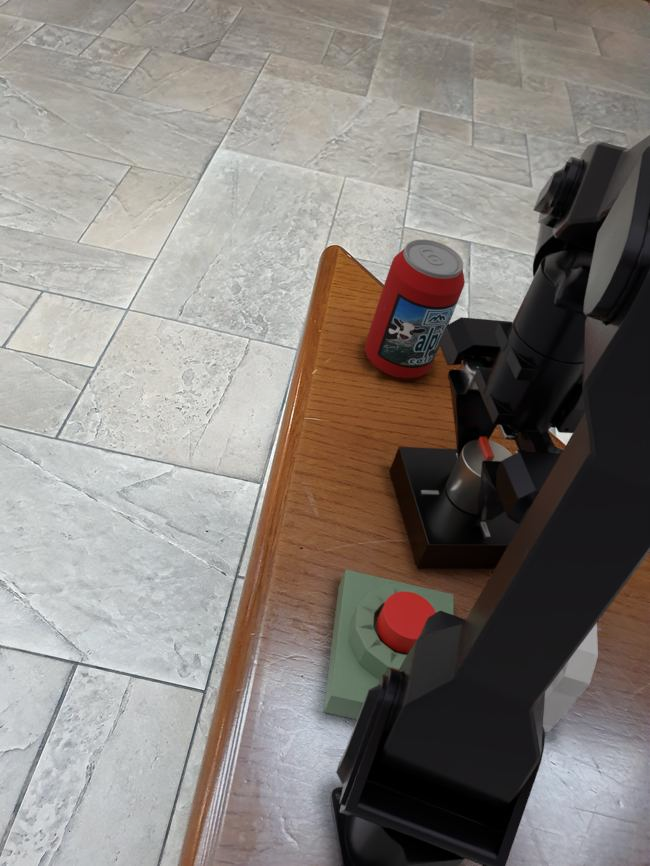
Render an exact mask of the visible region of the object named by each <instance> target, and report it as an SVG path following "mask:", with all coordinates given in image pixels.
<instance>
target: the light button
mask: <svg viewBox="0 0 650 866" xmlns="http://www.w3.org/2000/svg"><path fill="white" fill-rule="evenodd" d="M435 613H436V612H435V610H434V608H433V607H432V605H431V604H430V603H429V602H428V601H427V600H426V599H425V598H423V597H422V596H420V595H418V594H415V593H412V592H398V593H395V594H393V595H391V596H390V597H389V598H388V599H387V600H386V602H385V604H384V606H383V608H382V610H381V612H380V614H379V616H378V619H377V631H378V634H379V636H380V638H381V639H382V640H383V642H384V643H385V644H386V645H387V646H389V647H390V648H391V649H393V650H395V651H398V652H401V653H409V651H410V649H411V648H412V646H413V645H414V643H415V642H416V640H417V638H418V637H419V635H420V633H421V631H422V629H423V627H424V625H425V623H426V621H427V619H428V618H429V617H430V616H432V615H433V614H435Z"/></svg>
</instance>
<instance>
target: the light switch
mask: <svg viewBox="0 0 650 866" xmlns="http://www.w3.org/2000/svg"><path fill="white" fill-rule="evenodd" d="M598 644H599V643H598V622H597V623H596V624H595V626H594V627H593V628H592V630H591V631H590V632H589V634H588V635H587V636H586V638H585V639H584V641H583V642H582V643H581V645H580V646H579V647H578V649H577V650H576V651H575V653H574V654H573V655H572V657H571V658H570V659H569V661H568V662H567V663H566V665H565V666H564V667H563V669H562V670H561V671H560V673H559V674H558V675H557V677H556V678H555V679H554V681H553V682H552V683H551V685H550V686H549V687H548V689H547V690H546V691H545V702H544V717H543V727H544V731H545V733H547V734H549V733H550V732H551V731H552V729H553V728H554V727H555V726H556V724H557V723H558V722H559V721H560V720H561V719H562V717H563V716H564V715H565V714H566V713H567V711H569V710H570V708H571V707H572V706H573V705H574V703H575V702H576V701H577V700H578V699H579V698H580V697H581V695H582V694H583V693H584V692H585V690H586V689H587V688H588V687H589V686H590V684H591V681H592V678H593V676H594V675H593V674H594V671H595V668H596V664H597V661H598V657H599V645H598Z"/></svg>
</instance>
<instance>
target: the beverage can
mask: <svg viewBox="0 0 650 866" xmlns="http://www.w3.org/2000/svg"><path fill="white" fill-rule="evenodd" d="M463 268H464V261H463V258H462V257H461V256H460V255H459V253H458V252H457V251H456V250H454V249H453V248H452V247H450V246H448V245H446V244H444V243H442V242H439V241H435V240H431V239H425V238H424V239H414V240H411V241H409V242H408V243H407V244H406V245H405V247H404V248H403V249H402V250H401V251H399V252H398V253H397V254H396V255H395V256H394V257H393V259H392V261H391V264H390V266H389V270H388V272H387V275H386V279H385V281H384V284H383V288H382V290H381V294H380V296H379V300H378V302H377V305H376V309H375V311H374V315H373V318H372V320H371V324H370V327H369V331H368V334H367V337H366V341H365V343H364V353H365V355H366V357H367V358H368V360H369V361H370V363H371V364H372V365H373V366H375V367H376V368H377V369H378V370H380V371H381V372H383V373H385V374H387V375H389V376H392V377H395V378H403V379H414V378H415V379H416V378H419V377H421V376H424V375H425V374H427V373H428V372H429V371H430V370H431V367H433V366H432V365H433V363H434V360H435V358H436V356H437V354H438V351H439V350H440V345H439V343H440V340H441V338H442V335H443V333H444V330H445V328H446V326H447V325H448V324H450V323H451V320H452V317H453V315H454V312H455V310H456V307H457V304H458V302H459V299H460V298H461V295H462V293H463V289H464V287H465V282H466V280H465V274H464V269H463Z"/></svg>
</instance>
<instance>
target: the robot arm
mask: <svg viewBox="0 0 650 866" xmlns="http://www.w3.org/2000/svg"><path fill="white" fill-rule="evenodd" d="M533 211H534V212H535V213H539V214H538V215H539V216H538V221H537V223H538V224H539V229H538V233H537V237H536V238H537V239H536V245H535V249H534V255H533V256H534V257H533V262H532V277H533V278H532V280H531V283H530V284H529V286H528V289H527V291H526V293H525V295H524V298H523V300H522V302H521V304H520V306H519V308H518V311H517V313H516V315H515V317H514V319H513V320H512V321H507V320H497V319H488V318H487V319H484V318H476V317H475V318H474V317H462V316H460V317H459V318H457V319H455V320H453V321H452V322H449V324H448V325H447V326H446V328H445V330H444V333H443V335H442V338H441V340H440V343H439V345H440V347H439V349H440V350H441V352H442V355H443V358H444V360H445V362H446V365H447V366H460V367H459V368H458V369H455V368H453V369H452V368H451V369H449V371H448V372H447V380H448V382H449V390H450V397H451V398H450V399H451V406H452V413H453V424H454V433H455V443H456V444H455V445H456V449H457V456H458V458H459V456H460V454H461V451H462V449H463V447H464V446H465V445H466V444H467V443H468V442H470V441H472V440H477V439H479V438H480V437H487V439H488V440H490V438H491V437H492V435H493V433H494V431H495V430H496V428H497V427H498V428H499V430H500V433H501V435H502V437H503V439H505V440H508V441H509V440H510V441H514V443H515V445H516V448H517V449H516V450H515V452H514V454H512V456H510V457H508V458H506V459H504V460H502V461H482V468H481V480H480V491H479V502H478V517H479V519H480V520H492V519H494V518H496V517H497V516H499V515H500V514H502V513H503V512H506V515H507V517H508V518H509V519H511V520H512V521H514V522H516V523H517V524H520V526H519V528H518V529H517V531H516V533H515V535H514V536H513V538H512V540H511V542H510V543H509V545H508V547H507V549H506V550H505V552H504V554H503V556H502V557H501V559H500V561H499V562H498V564H497V566H496V568H493V569H494V570H493V571H492V573H491V575H490V576H489V578H488V580H487V581H486V583H485V585H484V586H483V588H482V590H481V591H480V593H479V595H478V597H477V599H476V600H475V602H474V604H473V606H472V608H471V609H470V611H469V612H468V614H467V616H466V617H465V618H461V617H460V616H457V615H455V614H454V615H451V614H449V613H446V612H443V611H438V612H436V613H435V614H433V615H432V616H430V617H429V618H428V619H427V621H426V623H425V625H424V627H423V629H422V631H421V633H420V635H419V637H418V638H417V640H416V642H415V643H414V645H413V646H412V648H411V649H410V651H409V653H408V654H407V656H406V658H405V659H404V661H403V663H402V665H401V667H400V669H399V670H396V669H393V668H391V667H390V668H389V669H388V671H387V672H386V674H385V675H384V674H382V676H381V678H380V681H379V683H378V685H377V686H375V687H373V688H371V689H369V690H368V692H367V694H366V697H365V700H364V702H363V705H362V708H361V710H360V713H359V716H358V718H357V720H356V721H355V723H354V727H353V729H352V731H351V735H350V737H349V740H348V742H347V745H346V747H345V750H344V751H343V754H342V756H341V758H340V759H339V761H338V764H337V767H336V771H335V773H336V775H337V777H338V779H339V781H340V783H341V784H342V786H338V787H335V788H334V789H332V791H331V794H330V796H329V799H330V806H331V813H332V819H333V825H334V831H335V838H336V844H337V849H338V855H339V856H338V857H339V862H340V866H460V864H462V863H463V862H464V861H465V860H467V861H470V862H473V863H475V864H477V865H481V866H506V865H507V862H508V860H509V857H510V853H511V851H512V848H513V845H514V842H515V839H516V836H517V834H518V830H519V827H520V824H521V821H522V819H523V816H524V813H525V810H526V807H527V804H528V801H529V799H530V795H531V793H532V791H533V787H534V784H535V782H536V779H537V775H538V773H539V770H540V767H541V763H542V760H543V755H544V749H545V742H546V732H545V731H544V727H543V717H544V702H545V691H546V690H547V689H548V687H549V686H550V685H551V683H552V682H553V681H554V679H555V678H556V677H557V675H558V674H559V673H560V671H561V670H562V669H563V667H564V666H565V665H566V663H567V662H568V661H569V659H570V658H571V657H572V655H573V654H574V653H575V651H576V650H577V649H578V647H579V646H580V645H581V643H582V642H583V641H584V639H585V638H586V636H587V635H588V634H589V632H590V631H591V630H592V628H593V627H594V626H595V624H596V623H597V624H598V622H599V620H600V619H601V618H602V617H603V615H604V614H605V613H606V611H607V610H608V609H609V608H610V606H611V605H612V603H613V602H614V600H615V599H616V598H617V597H618V595H619V594H620V592H621V591H622V590H623V589H624V587H625V586H626V584H627V583H628V582H629V580H630V579H631V578H632V576H633V575H634V573H636V571H637V570H638V568H639V567H640V566H641V564H642V563H643V562H644V561H645V559H646V558H647V557H648V555H649V554H650V134H648V135H647V136H646V137H645V138H643V139H642V140H640V141H639V142H637V143H636V144H634V145H633V146H631V147H630V148H628V147H625V146H624V147H623V146H620V145H616V144H612V143H608V142H604V141H596V142H595V141H594V142H592V143H591V144H589V145H587V147H586V148H585V149H584V151H583V152H582V154H581V156H580V158H578V157H576V156H575V157H574V156H570V157H569V159H568V160H567V161H566V162H565V164H564V165H563V166H562V168H561V169H559V170H557V171H554V172H553V173H552V174H551V176H550V178H549V179H548V180H547V182H546V183H545V184H544V186H543V187H542V189H541V190H540V191H539V194H538V196H537V199H536V202H535V204H534V207H533ZM551 428H553V429H554V428H555V429H556V430H557V432H558V433H561V434H563V433H564V434H571V436H570V437H569V439H568V441H567V443H566V444H565V446H564V448H563V449H562V448H560V447H557V446H556V445H555V444H554V442H553V439H552V437H551V435H550V433H549V431H550V429H551ZM337 795H340V799H338V798H337Z"/></svg>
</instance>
